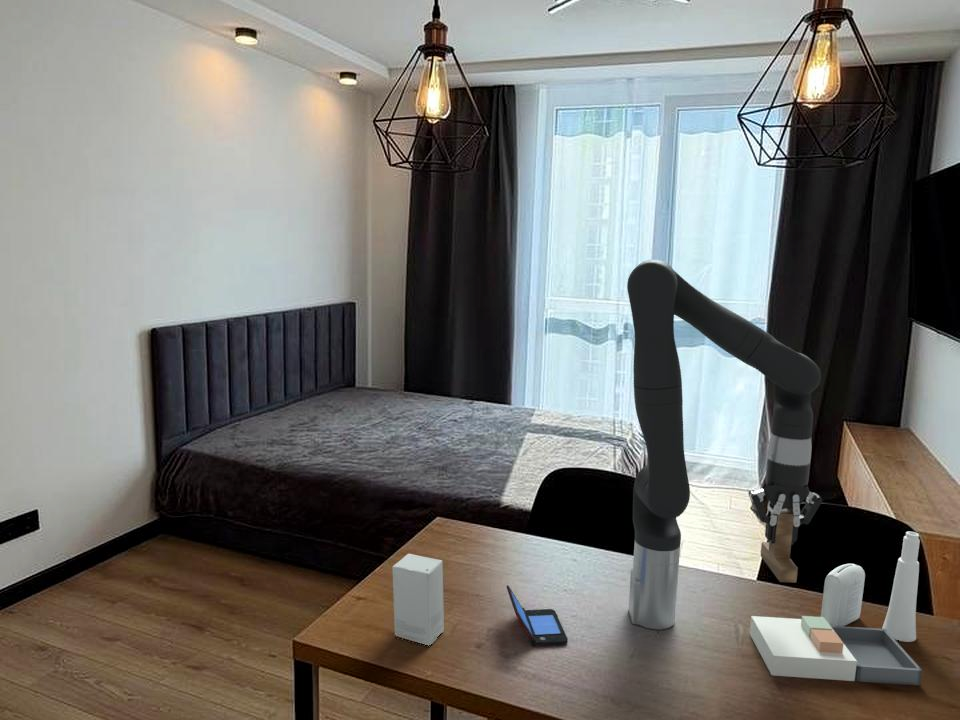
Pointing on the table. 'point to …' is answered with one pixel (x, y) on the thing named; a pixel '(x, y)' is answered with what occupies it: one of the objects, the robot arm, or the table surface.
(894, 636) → the cosmetic bottle
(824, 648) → the terracotta tile
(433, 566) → the skincare box
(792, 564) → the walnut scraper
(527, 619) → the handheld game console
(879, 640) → the box
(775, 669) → the off-white plate
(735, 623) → the table surface
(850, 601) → the photo printer
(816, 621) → the sage-green tile
